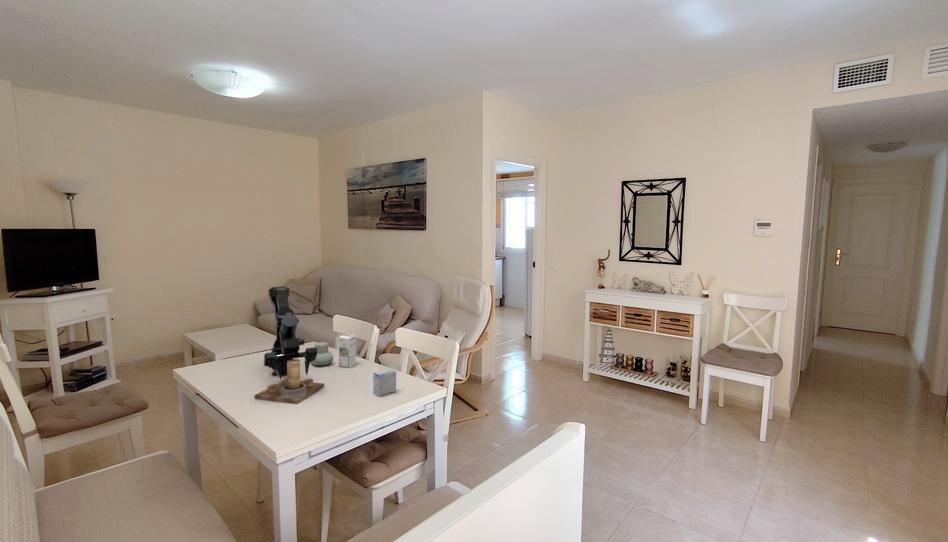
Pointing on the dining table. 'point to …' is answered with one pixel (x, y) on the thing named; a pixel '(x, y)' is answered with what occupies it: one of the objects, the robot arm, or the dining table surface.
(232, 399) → the dining table surface
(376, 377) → the medicine box
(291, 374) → the stool leg
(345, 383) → the dining table surface
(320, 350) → the air freshener
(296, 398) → the stool seat
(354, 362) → the syrup box
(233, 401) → the dining table surface
